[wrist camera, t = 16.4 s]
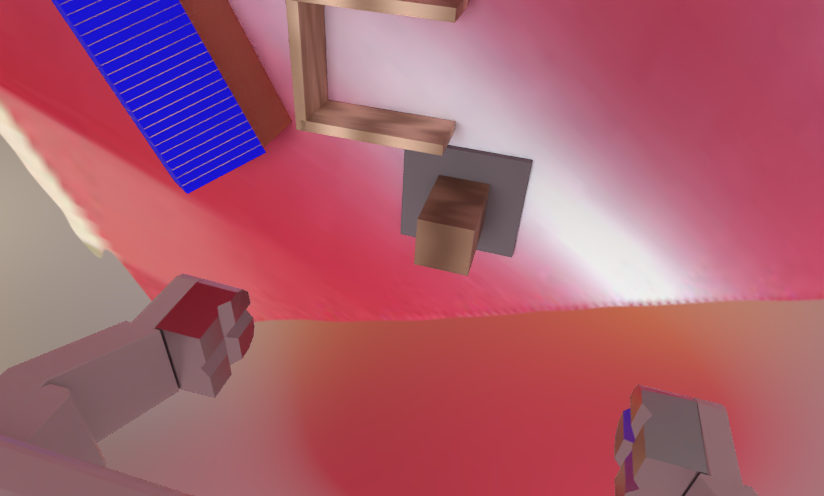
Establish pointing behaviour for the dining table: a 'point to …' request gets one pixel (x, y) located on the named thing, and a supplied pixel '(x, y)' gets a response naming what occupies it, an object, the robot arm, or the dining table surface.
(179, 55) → the house
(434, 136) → the wooden open frame
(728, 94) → the dining table surface
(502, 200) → the mat
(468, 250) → the block
